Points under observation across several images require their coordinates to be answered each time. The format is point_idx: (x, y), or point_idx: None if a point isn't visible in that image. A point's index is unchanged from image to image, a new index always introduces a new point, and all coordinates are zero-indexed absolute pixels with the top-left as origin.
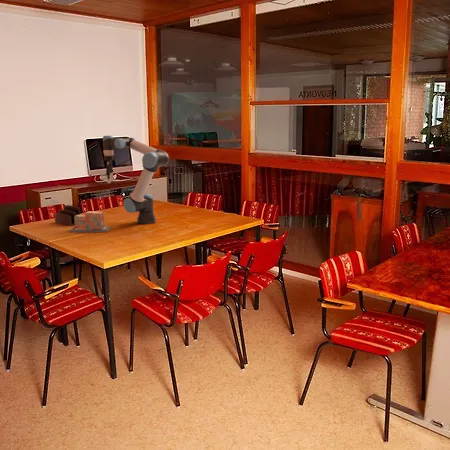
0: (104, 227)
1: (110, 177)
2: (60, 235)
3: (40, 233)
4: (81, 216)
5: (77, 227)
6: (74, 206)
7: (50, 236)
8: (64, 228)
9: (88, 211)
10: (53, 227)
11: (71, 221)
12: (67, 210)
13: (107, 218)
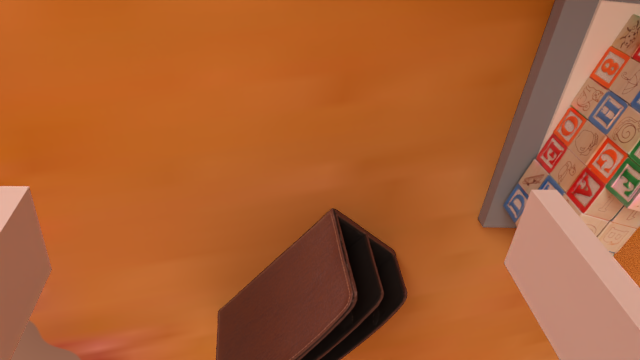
0: (623, 14)
1: (624, 309)
2: (633, 254)
3: (536, 343)
4: (634, 229)
5: None
6: (316, 344)
7: None
8: (454, 271)
9: (637, 208)
10: (406, 325)
11: (399, 270)
12: (321, 356)
13: (118, 29)
